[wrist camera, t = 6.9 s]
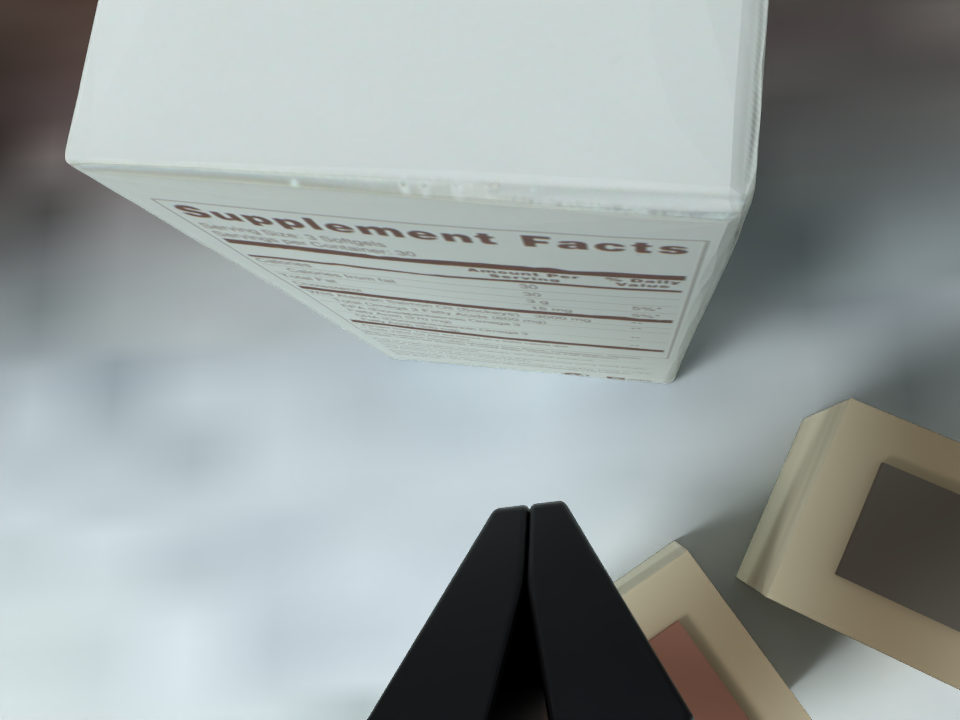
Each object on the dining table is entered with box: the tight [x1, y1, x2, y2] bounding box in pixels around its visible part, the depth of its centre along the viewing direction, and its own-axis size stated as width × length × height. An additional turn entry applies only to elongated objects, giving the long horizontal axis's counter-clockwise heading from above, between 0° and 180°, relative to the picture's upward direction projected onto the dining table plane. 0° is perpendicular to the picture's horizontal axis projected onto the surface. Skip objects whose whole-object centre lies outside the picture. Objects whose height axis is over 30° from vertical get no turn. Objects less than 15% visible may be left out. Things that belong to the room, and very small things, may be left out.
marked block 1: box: [614, 541, 812, 720], centre depth 16 cm, size 4×4×4 cm
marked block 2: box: [736, 398, 960, 690], centre depth 16 cm, size 4×4×4 cm
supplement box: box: [65, 0, 769, 384], centre depth 14 cm, size 7×7×13 cm
